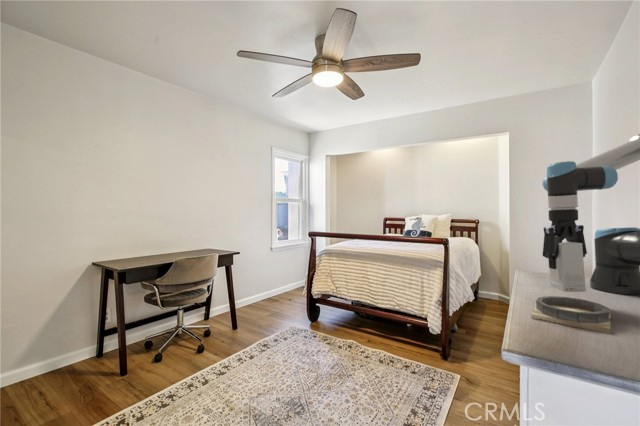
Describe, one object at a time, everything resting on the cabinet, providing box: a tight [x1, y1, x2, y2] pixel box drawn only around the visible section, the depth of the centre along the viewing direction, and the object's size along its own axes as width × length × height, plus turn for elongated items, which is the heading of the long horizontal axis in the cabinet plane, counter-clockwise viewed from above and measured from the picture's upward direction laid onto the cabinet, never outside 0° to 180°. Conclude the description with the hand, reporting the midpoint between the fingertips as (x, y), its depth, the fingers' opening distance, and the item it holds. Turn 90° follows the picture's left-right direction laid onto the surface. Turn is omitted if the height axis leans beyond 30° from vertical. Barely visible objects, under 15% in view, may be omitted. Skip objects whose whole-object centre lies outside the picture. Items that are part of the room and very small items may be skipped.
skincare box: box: [547, 240, 587, 293], centre depth 96 cm, size 8×7×16 cm
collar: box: [530, 295, 612, 334], centre depth 83 cm, size 16×16×4 cm
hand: (565, 277), depth 96 cm, fingers closed on skincare box, 8 cm apart
